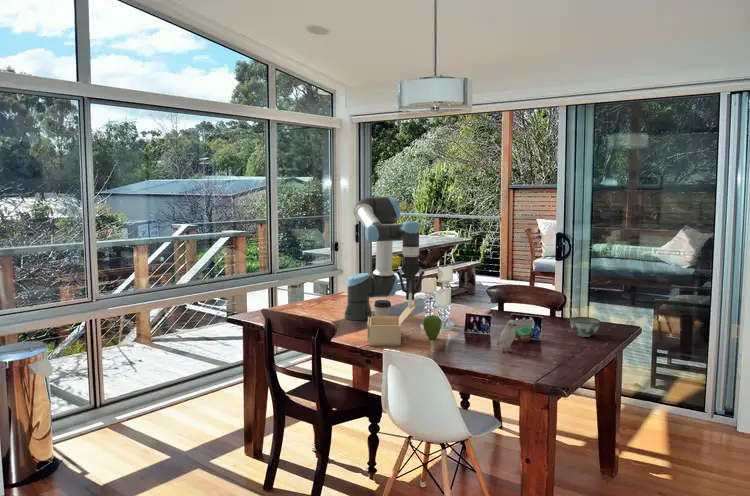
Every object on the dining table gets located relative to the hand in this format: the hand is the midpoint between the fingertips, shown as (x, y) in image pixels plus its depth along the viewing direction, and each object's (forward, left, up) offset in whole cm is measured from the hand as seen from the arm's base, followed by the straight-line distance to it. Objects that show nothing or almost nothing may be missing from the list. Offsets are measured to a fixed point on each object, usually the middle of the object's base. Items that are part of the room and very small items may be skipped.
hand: (410, 306), depth 284 cm
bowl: (-8, +82, -16) cm, 84 cm away
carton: (0, -12, -16) cm, 20 cm away
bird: (+20, +40, -16) cm, 48 cm away
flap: (0, -5, -6) cm, 8 cm away
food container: (0, +52, -16) cm, 55 cm away
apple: (-3, +10, -16) cm, 19 cm away
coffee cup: (-17, -13, -16) cm, 27 cm away
